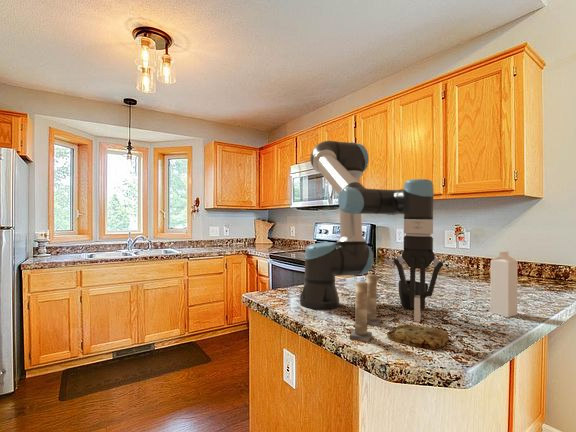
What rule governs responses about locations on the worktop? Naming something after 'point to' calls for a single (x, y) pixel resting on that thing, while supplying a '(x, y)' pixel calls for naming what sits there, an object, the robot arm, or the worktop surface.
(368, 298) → the post
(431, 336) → the pastry
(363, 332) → the post
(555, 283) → the worktop surface
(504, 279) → the milk
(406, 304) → the mug
